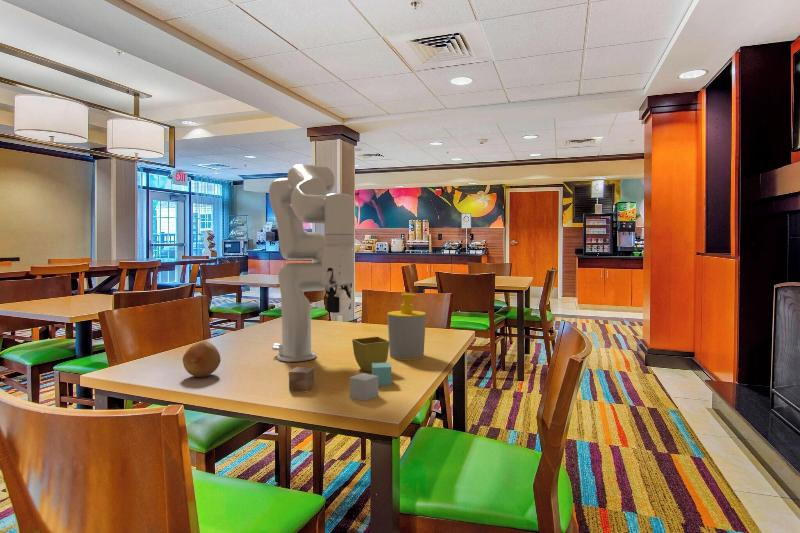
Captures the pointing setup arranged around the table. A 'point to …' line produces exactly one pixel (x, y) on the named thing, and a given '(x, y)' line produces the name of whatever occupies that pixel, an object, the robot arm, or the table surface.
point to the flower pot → (370, 351)
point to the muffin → (343, 302)
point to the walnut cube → (301, 379)
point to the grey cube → (363, 386)
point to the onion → (201, 359)
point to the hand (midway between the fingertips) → (339, 309)
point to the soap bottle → (406, 331)
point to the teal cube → (382, 373)
